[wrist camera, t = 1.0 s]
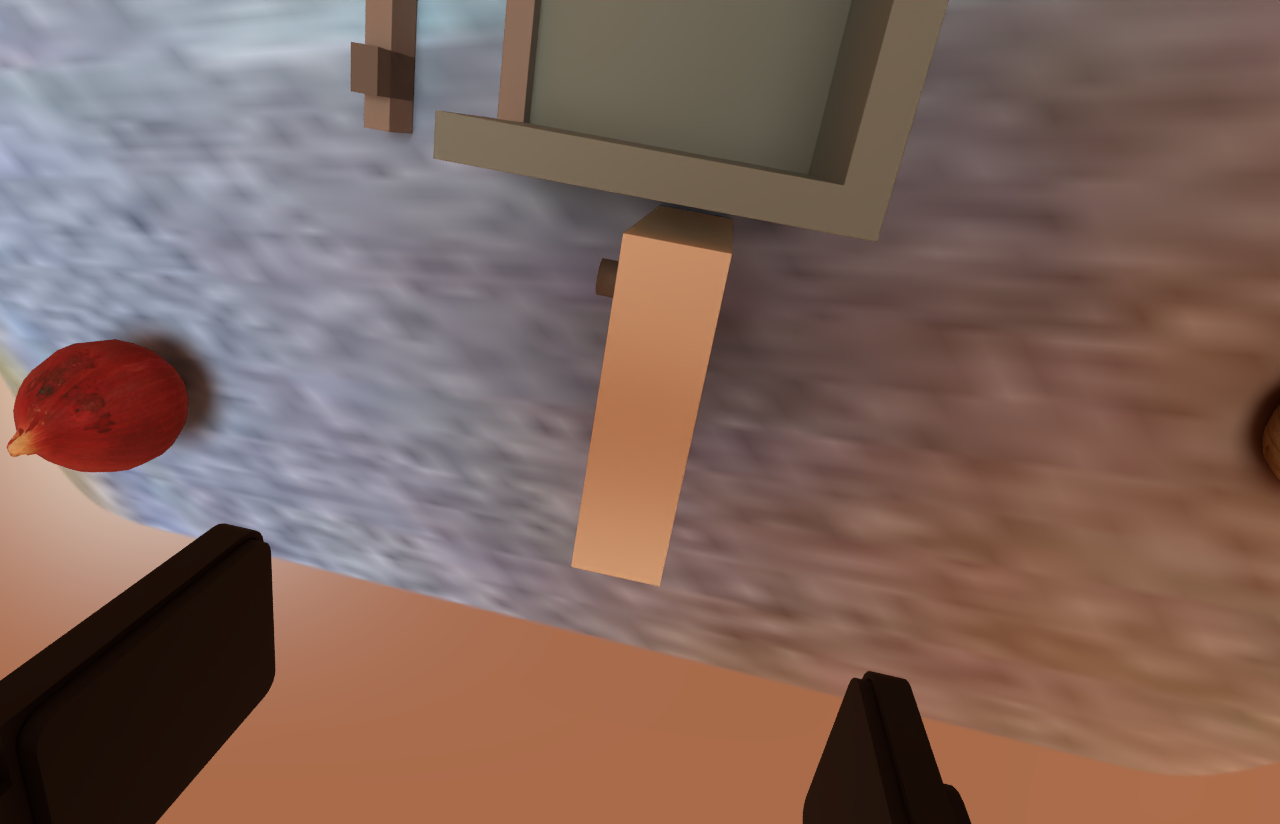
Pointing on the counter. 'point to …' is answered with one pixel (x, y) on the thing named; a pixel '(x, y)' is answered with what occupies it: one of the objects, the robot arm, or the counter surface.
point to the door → (650, 387)
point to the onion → (99, 407)
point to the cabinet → (686, 100)
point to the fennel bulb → (1273, 442)
